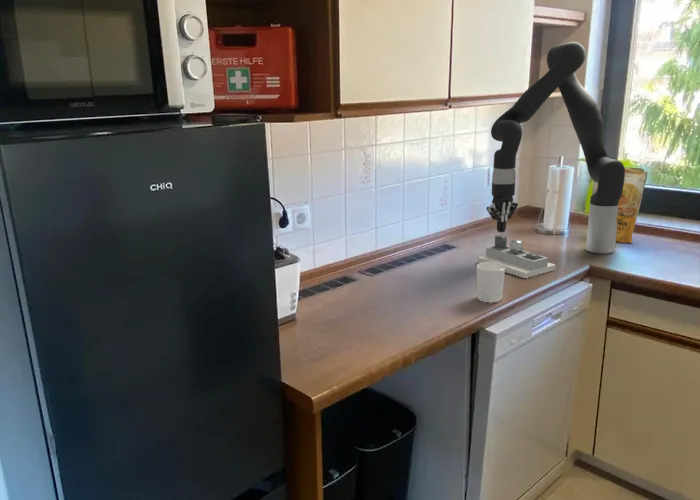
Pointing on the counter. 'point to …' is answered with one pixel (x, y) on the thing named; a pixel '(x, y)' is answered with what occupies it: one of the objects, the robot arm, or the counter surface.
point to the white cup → (490, 281)
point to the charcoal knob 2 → (532, 256)
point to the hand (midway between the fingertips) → (501, 231)
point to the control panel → (516, 262)
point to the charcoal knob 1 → (500, 241)
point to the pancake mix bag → (628, 202)
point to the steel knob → (516, 246)
